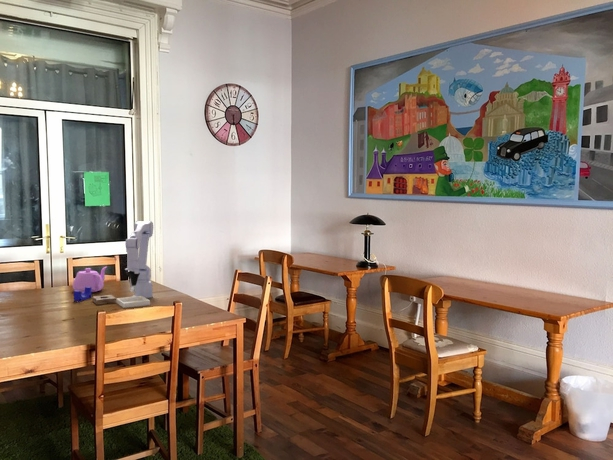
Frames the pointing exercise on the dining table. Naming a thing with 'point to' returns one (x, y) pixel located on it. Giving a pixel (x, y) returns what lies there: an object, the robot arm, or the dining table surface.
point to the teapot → (89, 280)
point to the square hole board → (104, 299)
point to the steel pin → (132, 287)
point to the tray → (133, 301)
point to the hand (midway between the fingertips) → (133, 285)
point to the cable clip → (82, 294)
